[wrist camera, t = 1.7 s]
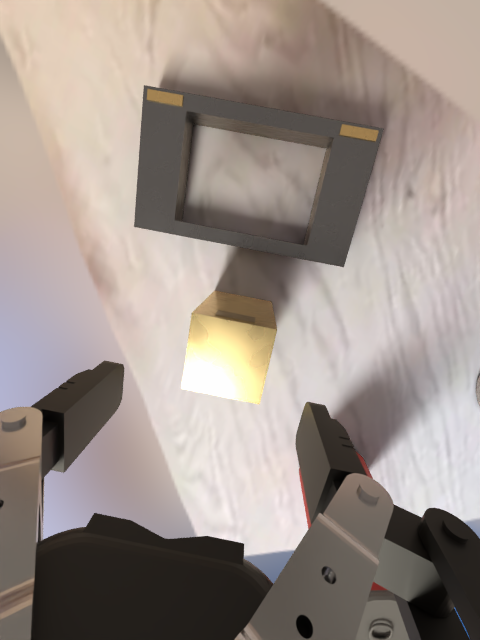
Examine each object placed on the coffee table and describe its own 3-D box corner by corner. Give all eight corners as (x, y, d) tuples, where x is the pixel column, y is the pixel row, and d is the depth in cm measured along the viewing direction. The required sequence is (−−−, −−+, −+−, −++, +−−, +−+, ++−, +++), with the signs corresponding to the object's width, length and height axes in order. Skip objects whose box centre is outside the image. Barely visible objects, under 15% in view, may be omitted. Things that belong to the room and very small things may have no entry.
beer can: (296, 490, 28) (321, 660, 17) (299, 437, 26) (330, 586, 15) (360, 494, 28) (431, 672, 16) (368, 441, 26) (455, 597, 14)
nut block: (271, 301, 23) (277, 328, 15) (259, 354, 24) (259, 405, 17) (214, 289, 23) (192, 311, 15) (206, 344, 25) (181, 389, 17)
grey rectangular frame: (371, 140, 19) (384, 128, 17) (336, 265, 22) (344, 267, 20) (155, 100, 20) (143, 84, 18) (145, 228, 22) (133, 226, 20)
